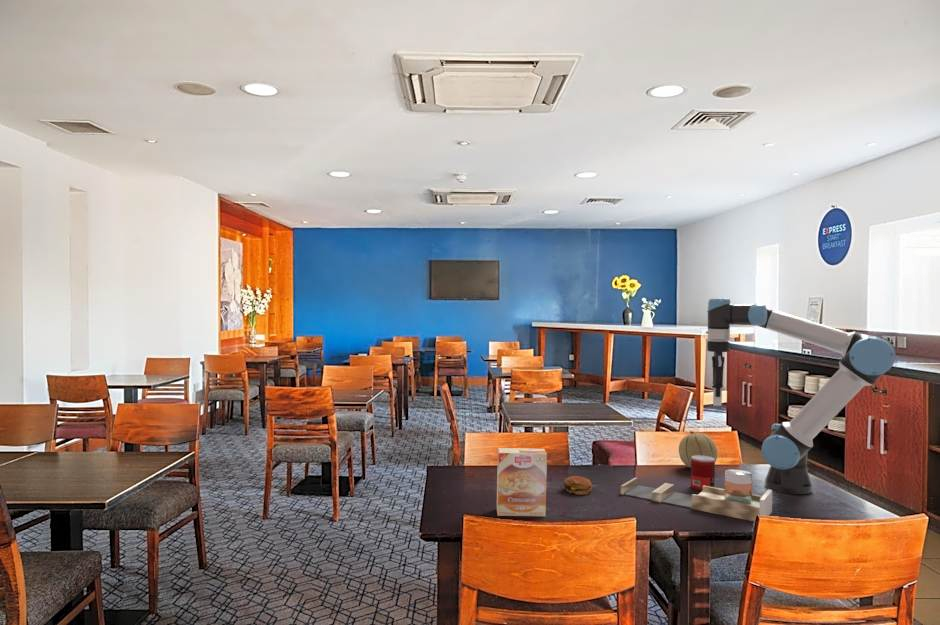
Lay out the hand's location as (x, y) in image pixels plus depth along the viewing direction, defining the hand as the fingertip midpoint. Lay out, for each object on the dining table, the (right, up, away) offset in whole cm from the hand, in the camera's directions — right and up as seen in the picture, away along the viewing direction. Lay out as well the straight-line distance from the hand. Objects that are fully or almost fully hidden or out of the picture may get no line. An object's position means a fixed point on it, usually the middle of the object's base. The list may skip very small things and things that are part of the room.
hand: (717, 405), depth 225 cm
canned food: (-7, -30, -3) cm, 30 cm away
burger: (-52, -29, -9) cm, 60 cm away
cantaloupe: (+1, -29, +23) cm, 37 cm away
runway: (-16, -29, -20) cm, 39 cm away
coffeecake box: (-74, -29, -33) cm, 86 cm away
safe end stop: (-3, -30, -29) cm, 42 cm away
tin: (-4, -27, -27) cm, 38 cm away
